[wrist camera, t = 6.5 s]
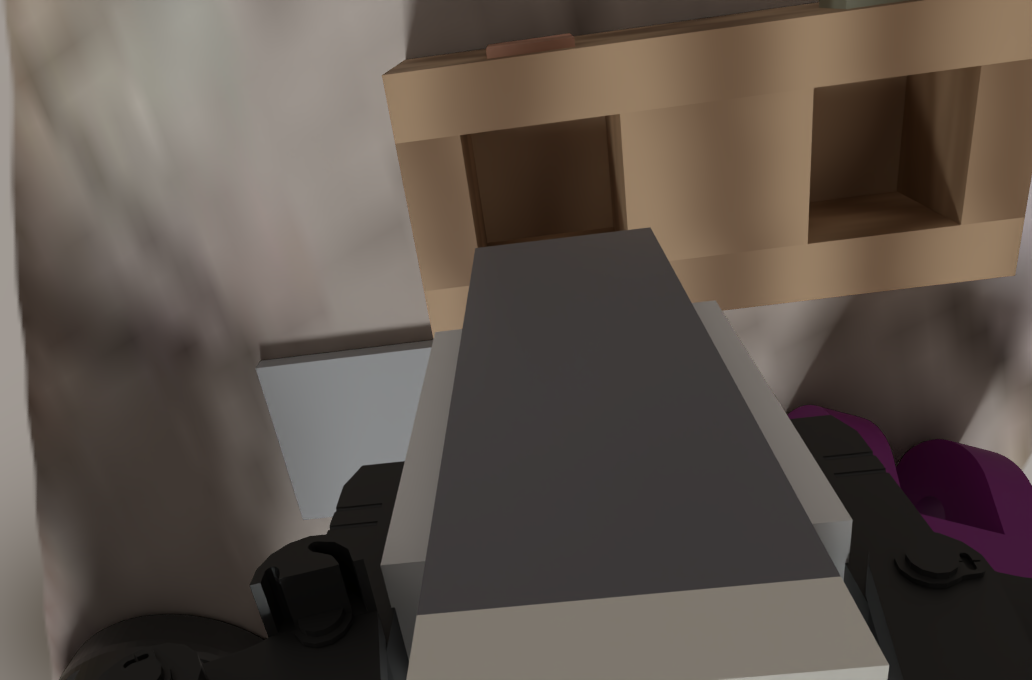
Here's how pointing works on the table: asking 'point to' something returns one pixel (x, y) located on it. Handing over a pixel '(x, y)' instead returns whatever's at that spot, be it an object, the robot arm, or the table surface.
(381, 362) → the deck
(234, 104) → the table surface
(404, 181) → the port block
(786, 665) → the plug
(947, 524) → the mounting bracket
